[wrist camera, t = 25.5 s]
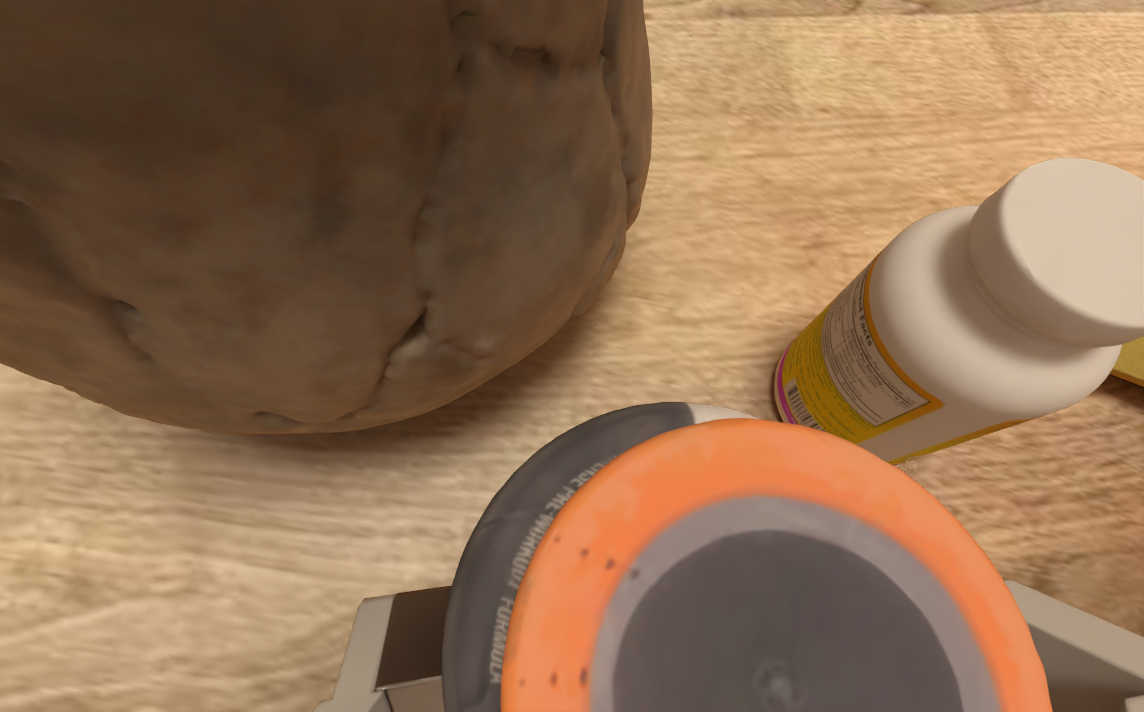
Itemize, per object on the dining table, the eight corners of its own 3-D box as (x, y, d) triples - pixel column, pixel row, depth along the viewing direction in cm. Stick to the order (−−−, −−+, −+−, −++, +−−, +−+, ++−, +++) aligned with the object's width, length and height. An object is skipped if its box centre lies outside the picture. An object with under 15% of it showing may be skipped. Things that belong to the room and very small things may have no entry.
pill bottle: (606, 442, 16) (704, 184, 5) (779, 590, 15) (1366, 640, 4) (456, 615, 14) (160, 741, 4) (637, 801, 13) (1002, 1854, 2)
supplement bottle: (926, 358, 26) (1251, 172, 14) (906, 496, 23) (1275, 416, 11) (784, 311, 26) (975, 93, 14) (751, 440, 24) (946, 309, 12)
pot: (-3, 273, 26) (-1880, -733, 6) (350, -8, 33) (43, -878, 13) (411, 609, 21) (-1748, 1178, 1) (713, 196, 29) (1079, -665, 9)
